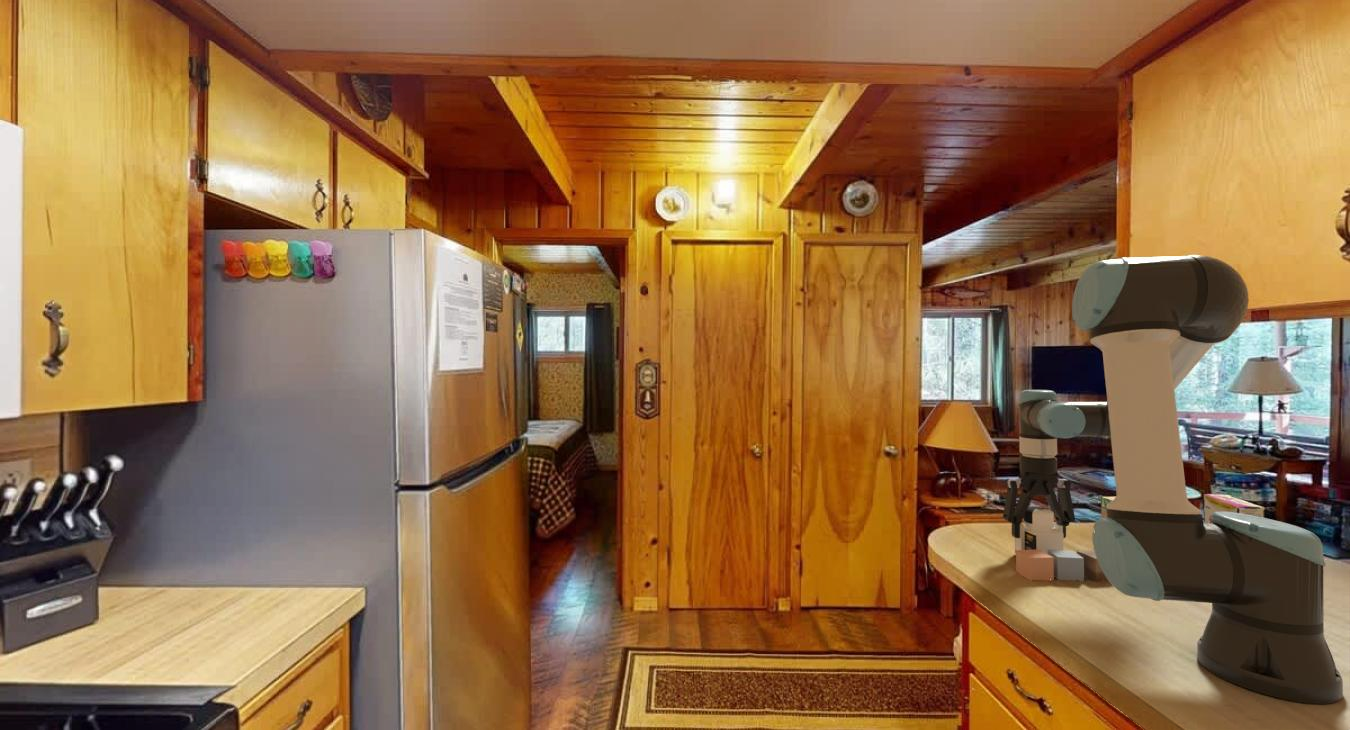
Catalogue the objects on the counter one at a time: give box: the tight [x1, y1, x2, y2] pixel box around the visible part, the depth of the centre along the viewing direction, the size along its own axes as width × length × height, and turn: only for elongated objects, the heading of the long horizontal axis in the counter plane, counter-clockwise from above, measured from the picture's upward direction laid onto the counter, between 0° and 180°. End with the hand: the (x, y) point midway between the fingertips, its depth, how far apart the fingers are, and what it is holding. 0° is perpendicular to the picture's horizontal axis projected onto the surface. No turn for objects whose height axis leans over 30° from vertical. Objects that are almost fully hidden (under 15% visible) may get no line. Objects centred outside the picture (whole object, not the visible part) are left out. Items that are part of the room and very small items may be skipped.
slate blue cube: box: [1048, 549, 1085, 582], centre depth 125 cm, size 5×5×5 cm
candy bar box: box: [1203, 493, 1266, 523], centre depth 124 cm, size 11×5×16 cm, turn 167°
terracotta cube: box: [1015, 550, 1055, 581], centre depth 126 cm, size 5×5×5 cm
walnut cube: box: [1076, 549, 1108, 582], centre depth 125 cm, size 5×5×5 cm
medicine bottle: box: [1014, 505, 1065, 555], centre depth 136 cm, size 7×7×12 cm
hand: (1038, 551), depth 136 cm, fingers open, 8 cm apart
